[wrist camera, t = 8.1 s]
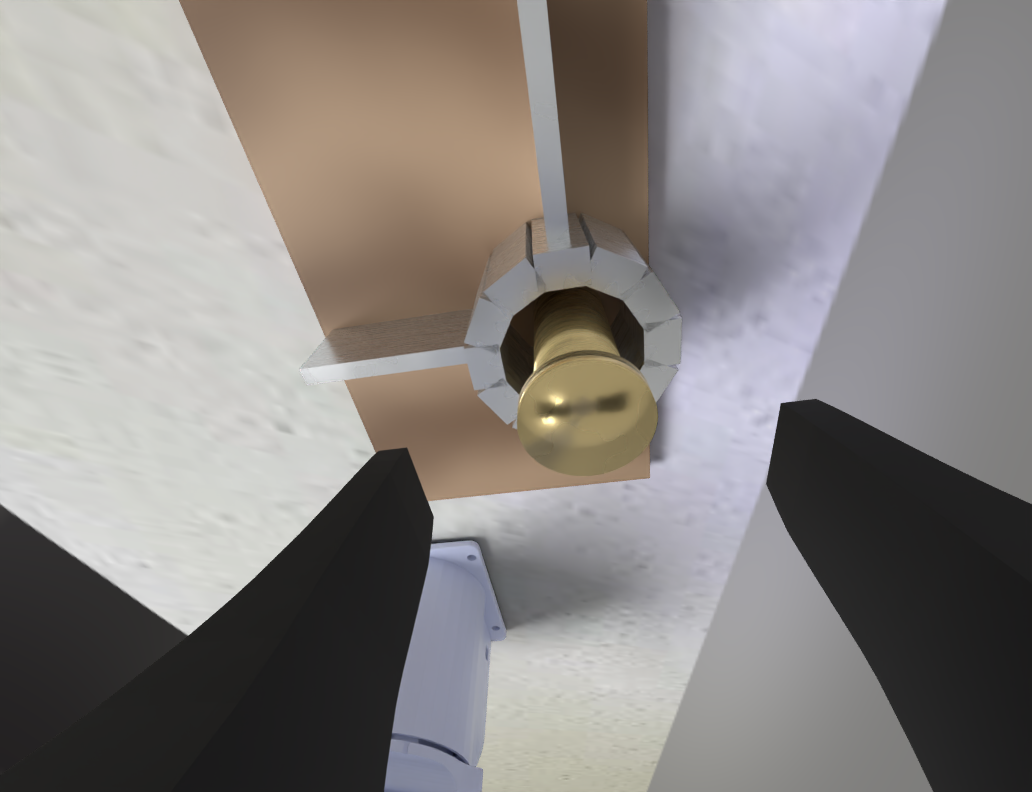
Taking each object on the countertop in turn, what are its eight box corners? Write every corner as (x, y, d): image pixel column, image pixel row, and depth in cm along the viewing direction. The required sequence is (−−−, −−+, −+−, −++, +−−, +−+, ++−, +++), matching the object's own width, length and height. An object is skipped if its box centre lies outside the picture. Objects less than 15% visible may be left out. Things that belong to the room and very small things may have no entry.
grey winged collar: (649, 364, 17) (677, 427, 14) (363, 401, 19) (327, 467, 15) (647, -41, 11) (697, -101, 8) (217, 55, 12) (103, 39, 9)
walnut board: (645, 463, 21) (649, 478, 21) (402, 489, 23) (397, 504, 22) (636, -167, 11) (645, -189, 10) (178, -50, 12) (152, -61, 11)
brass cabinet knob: (613, 341, 17) (656, 469, 11) (529, 352, 17) (527, 481, 11) (609, 257, 15) (658, 353, 9) (515, 270, 16) (505, 372, 10)
